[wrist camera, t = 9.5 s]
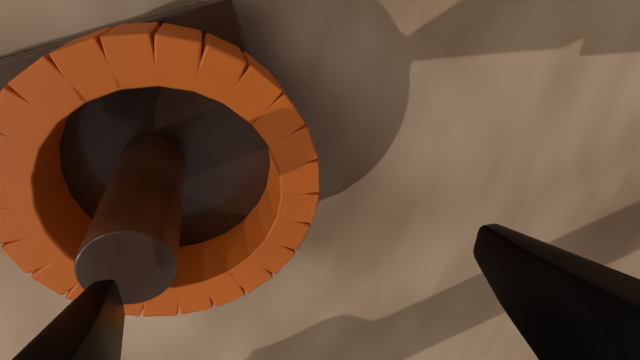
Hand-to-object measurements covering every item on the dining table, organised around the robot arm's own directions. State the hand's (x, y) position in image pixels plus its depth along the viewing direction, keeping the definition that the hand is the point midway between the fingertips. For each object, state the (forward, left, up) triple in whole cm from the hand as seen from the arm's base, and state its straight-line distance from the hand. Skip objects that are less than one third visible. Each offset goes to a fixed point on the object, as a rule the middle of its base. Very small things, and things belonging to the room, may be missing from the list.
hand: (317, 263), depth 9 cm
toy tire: (-4, 0, -7) cm, 8 cm away
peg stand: (-4, 0, -8) cm, 9 cm away
